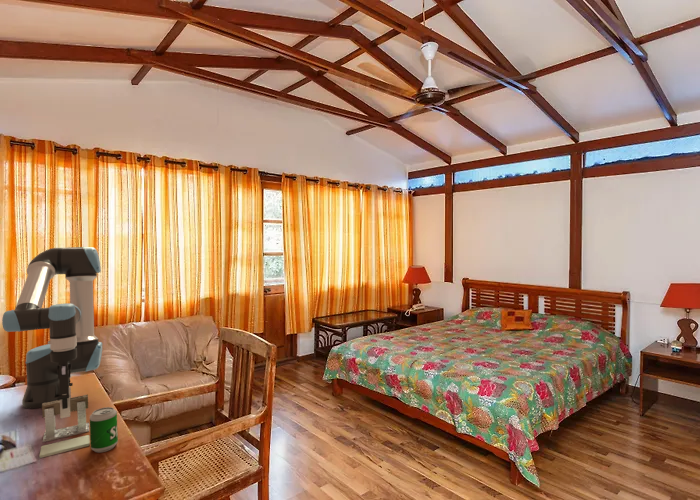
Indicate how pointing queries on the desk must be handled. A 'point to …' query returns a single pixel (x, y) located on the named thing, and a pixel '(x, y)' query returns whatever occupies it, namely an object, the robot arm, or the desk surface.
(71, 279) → the robot arm
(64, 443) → the mat
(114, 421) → the soda can
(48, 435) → the rack
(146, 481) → the desk surface
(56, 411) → the rail
